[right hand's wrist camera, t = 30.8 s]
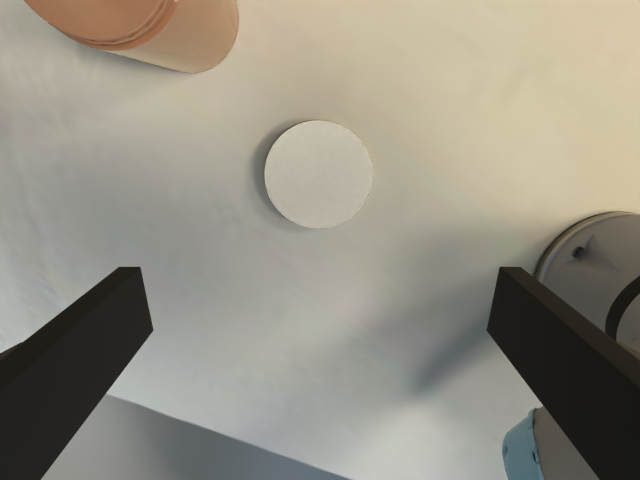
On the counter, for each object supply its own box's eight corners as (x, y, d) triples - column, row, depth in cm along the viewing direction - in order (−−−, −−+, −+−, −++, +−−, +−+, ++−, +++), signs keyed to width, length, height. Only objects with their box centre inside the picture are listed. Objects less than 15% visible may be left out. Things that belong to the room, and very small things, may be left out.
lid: (356, 105, 34) (358, 105, 33) (380, 209, 38) (382, 213, 36) (251, 137, 35) (248, 139, 34) (285, 235, 39) (283, 240, 37)
